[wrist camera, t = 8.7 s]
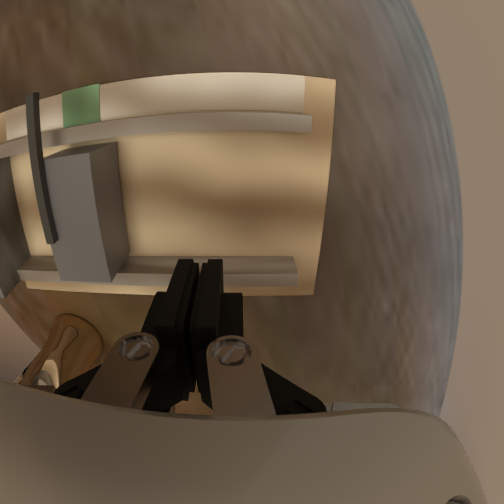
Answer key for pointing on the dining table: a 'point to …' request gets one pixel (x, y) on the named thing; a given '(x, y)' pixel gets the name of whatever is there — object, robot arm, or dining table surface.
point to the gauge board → (185, 179)
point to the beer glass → (64, 353)
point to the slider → (79, 204)
